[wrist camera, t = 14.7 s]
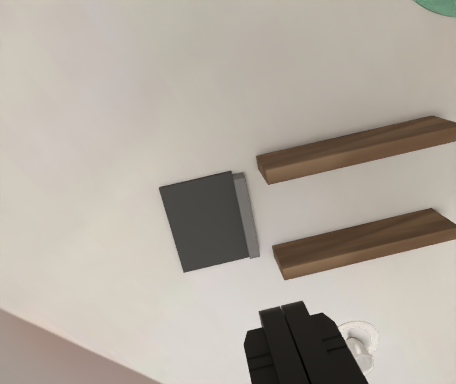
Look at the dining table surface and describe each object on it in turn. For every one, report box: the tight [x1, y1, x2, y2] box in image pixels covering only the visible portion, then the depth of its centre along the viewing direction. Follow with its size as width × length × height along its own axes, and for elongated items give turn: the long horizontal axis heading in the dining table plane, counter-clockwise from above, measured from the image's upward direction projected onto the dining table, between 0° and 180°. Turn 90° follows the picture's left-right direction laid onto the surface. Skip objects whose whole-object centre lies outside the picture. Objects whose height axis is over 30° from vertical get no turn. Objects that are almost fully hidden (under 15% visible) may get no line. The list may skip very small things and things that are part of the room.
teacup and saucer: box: [338, 321, 379, 375], centre depth 51 cm, size 9×8×4 cm
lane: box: [256, 116, 456, 280], centre depth 41 cm, size 13×20×5 cm, turn 102°
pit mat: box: [159, 171, 260, 273], centre depth 42 cm, size 11×9×2 cm
